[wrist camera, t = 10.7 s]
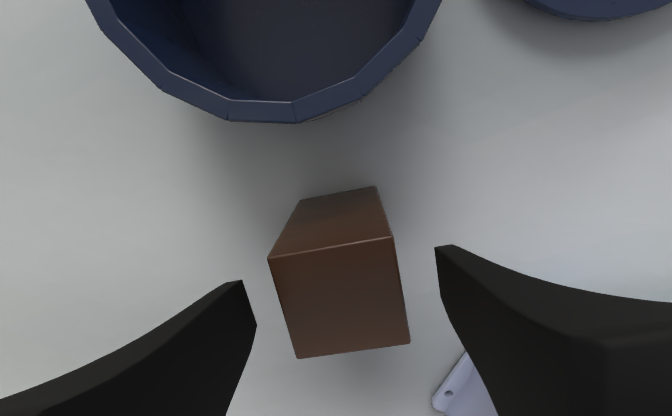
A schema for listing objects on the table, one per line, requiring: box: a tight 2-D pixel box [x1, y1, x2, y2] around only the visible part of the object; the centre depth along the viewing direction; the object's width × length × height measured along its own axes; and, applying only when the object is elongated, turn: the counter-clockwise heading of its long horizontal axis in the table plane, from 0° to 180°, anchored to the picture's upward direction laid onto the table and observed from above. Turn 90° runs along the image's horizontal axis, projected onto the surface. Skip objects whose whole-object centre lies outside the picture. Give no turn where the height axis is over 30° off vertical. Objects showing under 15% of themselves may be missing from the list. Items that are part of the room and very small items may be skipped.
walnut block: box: [267, 186, 411, 359], centre depth 14 cm, size 4×4×7 cm
